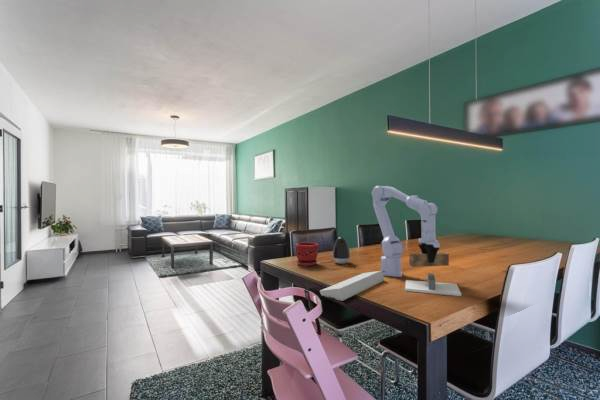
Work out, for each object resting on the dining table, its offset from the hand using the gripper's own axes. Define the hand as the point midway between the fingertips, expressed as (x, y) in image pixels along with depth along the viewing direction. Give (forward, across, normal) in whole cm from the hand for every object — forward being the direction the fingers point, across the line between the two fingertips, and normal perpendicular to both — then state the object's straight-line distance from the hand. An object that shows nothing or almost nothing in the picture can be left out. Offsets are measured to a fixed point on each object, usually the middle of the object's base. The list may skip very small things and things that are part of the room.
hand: (428, 261), depth 129 cm
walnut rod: (+2, 0, 0) cm, 2 cm away
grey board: (+10, -8, +3) cm, 12 cm away
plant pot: (+10, +44, +49) cm, 67 cm away
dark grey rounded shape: (+10, +45, +29) cm, 54 cm away
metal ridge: (+10, -8, +3) cm, 12 cm away
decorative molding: (+10, -2, +34) cm, 35 cm away
